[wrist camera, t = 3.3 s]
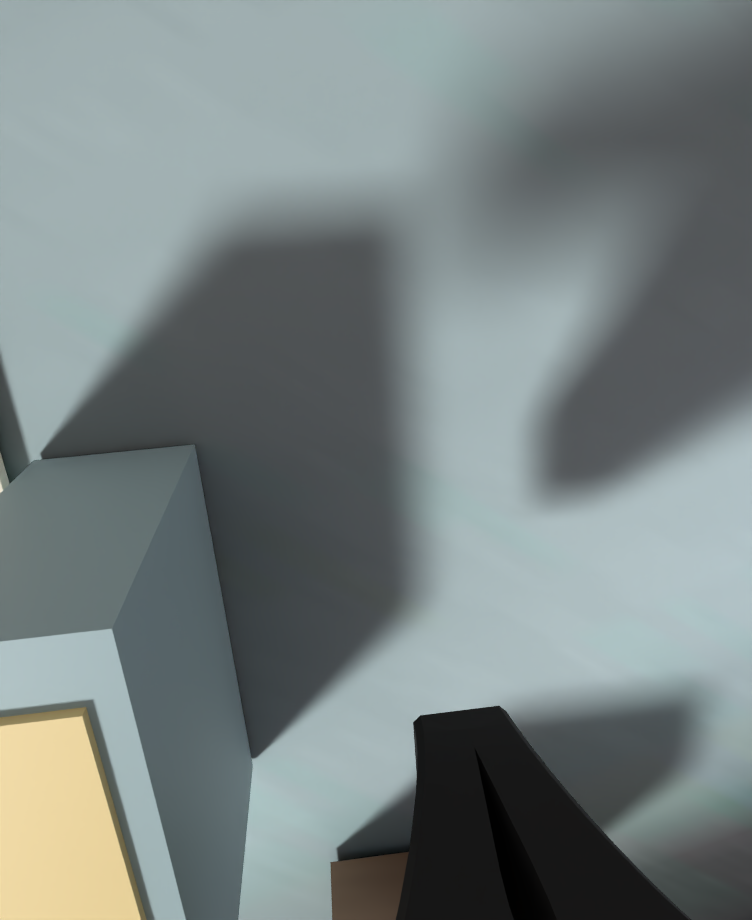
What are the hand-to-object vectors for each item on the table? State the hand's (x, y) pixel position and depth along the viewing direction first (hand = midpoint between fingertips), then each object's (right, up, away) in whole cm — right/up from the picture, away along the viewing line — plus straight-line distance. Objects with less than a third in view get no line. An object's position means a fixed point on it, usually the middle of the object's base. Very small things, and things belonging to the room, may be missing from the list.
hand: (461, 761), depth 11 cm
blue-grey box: (-6, +1, +4) cm, 7 cm away
